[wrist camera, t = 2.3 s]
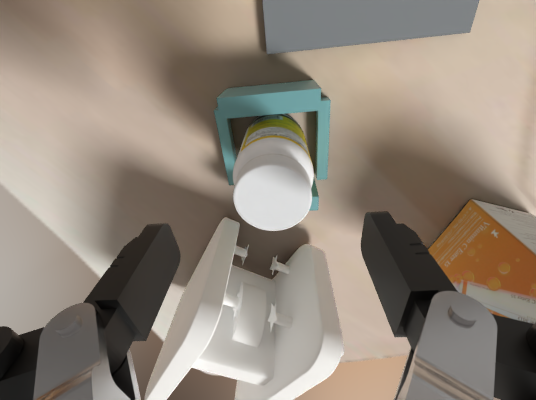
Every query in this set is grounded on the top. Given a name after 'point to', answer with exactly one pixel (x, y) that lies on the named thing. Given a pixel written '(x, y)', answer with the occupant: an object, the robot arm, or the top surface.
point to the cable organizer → (253, 324)
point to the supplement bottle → (273, 174)
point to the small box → (492, 258)
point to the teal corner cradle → (269, 103)
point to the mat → (360, 21)
